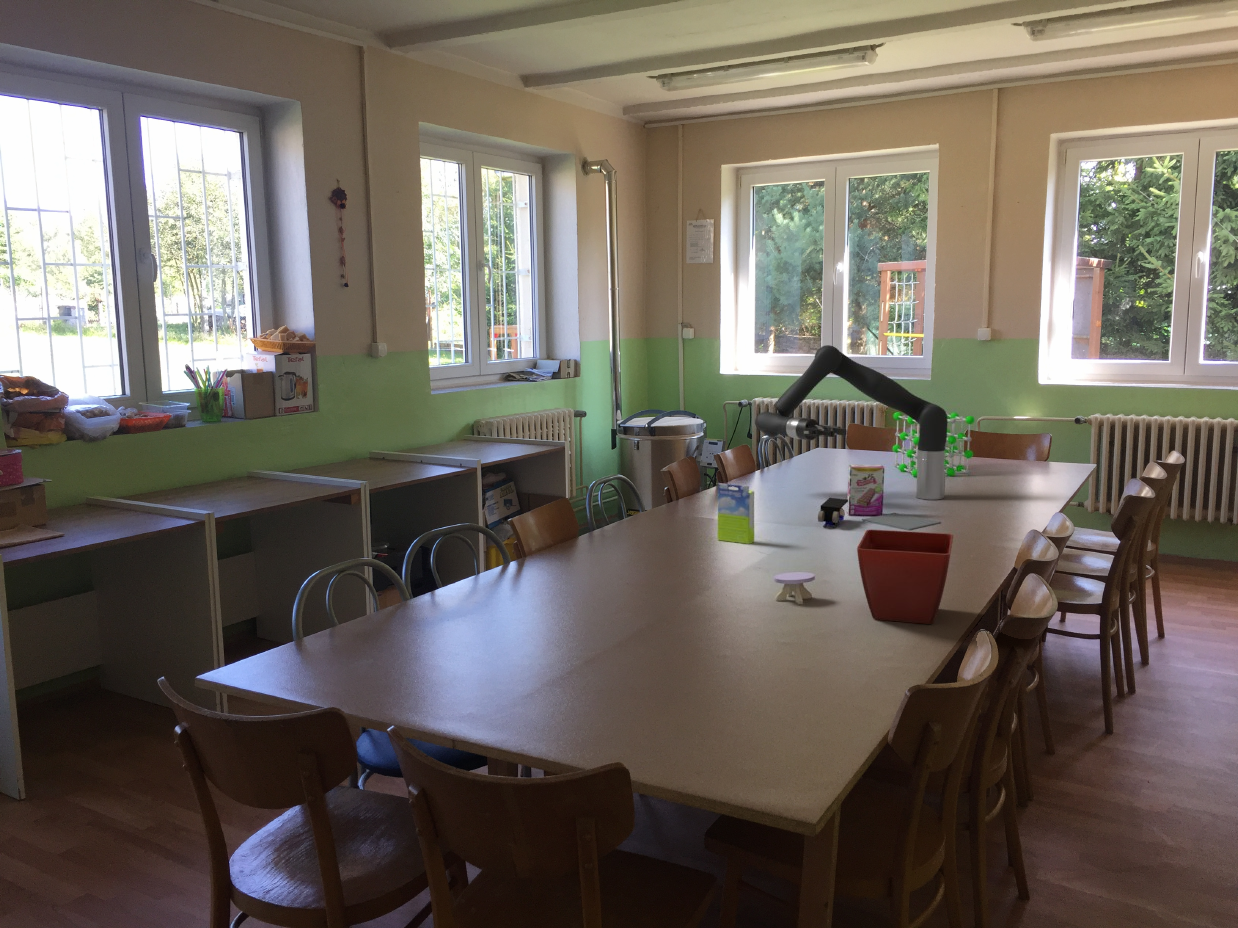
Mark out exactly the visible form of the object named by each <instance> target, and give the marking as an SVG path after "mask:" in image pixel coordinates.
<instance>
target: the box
mask: <svg viewBox="0 0 1238 928" xmlns="http://www.w3.org/2000/svg"><path fill="white" fill-rule="evenodd" d="M717 484H718V485H717V488H718V490H717V541H720V542H721V541H723V542H732V543H740V544H746V545H750V544H752V543H754V542H755V491H754V490H750V486H749V485H742V484H729V483H722V482H721V483H720V482H718V483H717ZM731 487H734V488H736V489H734V488H731Z"/></svg>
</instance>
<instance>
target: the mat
mask: <svg viewBox="0 0 1238 928" xmlns="http://www.w3.org/2000/svg"><path fill="white" fill-rule="evenodd" d="M861 520H862V522H867V523H872V524H877V525H880V526H881V525H882V526H886V527H891V528H896V529H901V530H906V531H912V530H915V529H920V528H924V527H925V528H926V527H928V526H933V525H938V524H941V523H942V522H941V521H939V520H934V519H930V518H929V519H928V518H923V517H919V516H913V515H909V514H904V513H903V514H902V513H898V512H892V513H887V514H882V515H881V516H871V517H867V518H863V519H861Z"/></svg>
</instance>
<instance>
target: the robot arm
mask: <svg viewBox="0 0 1238 928" xmlns="http://www.w3.org/2000/svg"><path fill="white" fill-rule="evenodd" d="M830 374H832V375H835V376H837V377H838V378H841V379H842V380H845V381H846V382H847V383H848V384H850V385H852V386H853V387H854V388H855V389H857V390H858V391H859V392H861V393H862V394H864V395H866V396H867V397H869V398H871V399H872V400H873V401H876V402H877V403H879V404H882V405H883V406H886V407H887V408H890V409H893V410H897V412H900V413H903V414H904V415H906V416H909V417H911V418H912V419H913V420H915V421H916V422H918V423H919V433H920V435H919V442H918V459H917V477H916V492H915V493H916V494H915V495H916V496H915V497H916V498H917V499H921V500H930V501H931V500H942V499H944V498H945V495H946V475H947V473H946V472H945V470H944V465H945V445H947V442H946V440H947V429H948V423H947V414H946V413H947V412H946V410H945V409H944V408H943V407H941V406H940V405H939V404H935V403H932V402H930V401H927V400H925V399H923V398H920V397H918V396H916V395H915V394H913V393H912V392H910V391H909V390H907V389H906V388H905V387H904V386H902V385H901V384H899V383H898V382H897V381H895V380H894V379H892V378H890V377H888V375H884V374H883V373H881V372H879V371H877V370H875V369H872V368H871V367H869V366H866V365H863V364H860V363H859V362H856V361H855V360H854V359H851V357H848V356H847V355H845V354H844V353H843V352H842V351H840V350H839V349H838V348H837V347H836V346H833V345H830V344H829V345H828V344H827V345H823V346H821V347H819V348H818V349H817V350H816V352H815V353H814V358H813V360H812V362H811V364H810V365H809V366H808V368H807V369H806V370H805V371H804V372H803V373H802V375H801V376H800V377H799V378H798V379H797V380H796V381H794V382H793V383H792V384H791V385H790V386H789V387H788V388H787V389H786V390H785V391H784V392H783V393H782V395H781V396H779V398H778V399H777V400H776V402H775V403H774V408H775V409H776V411H777V412H776V413H775V412H771V411H763V412H760V413H759V414H757V415H756V416H755V420H754V424H755V425H754V426H755V427H756V428H757V429H758V430H759V431H761V432H762V433H763V434H764V435H766V436H768V437H769V438H775V437H777V436H781V437H786V438H787V437H788V438H793V439H797V440H803V441H804V440H805V441H814V440H816V439H817V438H823V437H828V438H834V437H835V436H846V435H847V433H848V432H847V429H846V428H841V426H839V425H838V426H837V425H831V424H829V425H828V424H827V425H826V424H823V423H822V424H820V423H819V422H818V420H817V419H814V418H809V417H808V418H806V417H801V416H800V417H792V416H791V415H792V414H793V413H794V412H795V411H796V409H797V408H799V406H800V405H801V404H802V403H803V402H804V401H805V399H806V397H807V396H808V395H809V394H810V393H811V392H812V391H813V390H814V389H815V387H817V385H818V384H819V383H821V382H822V380H824V379H825V378H826V377H827V376H828V375H830ZM916 422H915V423H916Z"/></svg>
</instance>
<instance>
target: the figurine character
mask: <svg viewBox="0 0 1238 928" xmlns="http://www.w3.org/2000/svg"><path fill="white" fill-rule="evenodd" d="M847 502H848V499H846V498H837V497H828V499H826V500H825V501H824V502H823V503H822V504H820V510H819V511H818V515H817V521H818V522H819V523H824V524H823V525H822V527H823V528H826V527H827V526H830V527H831V528H832V529H835V528H836V526H837V524H839V523H840V522H842V521H844V520H845V519H844V518H845V516H846V513H845V510H844V508H843V507H844V506H845V505H847Z"/></svg>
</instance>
